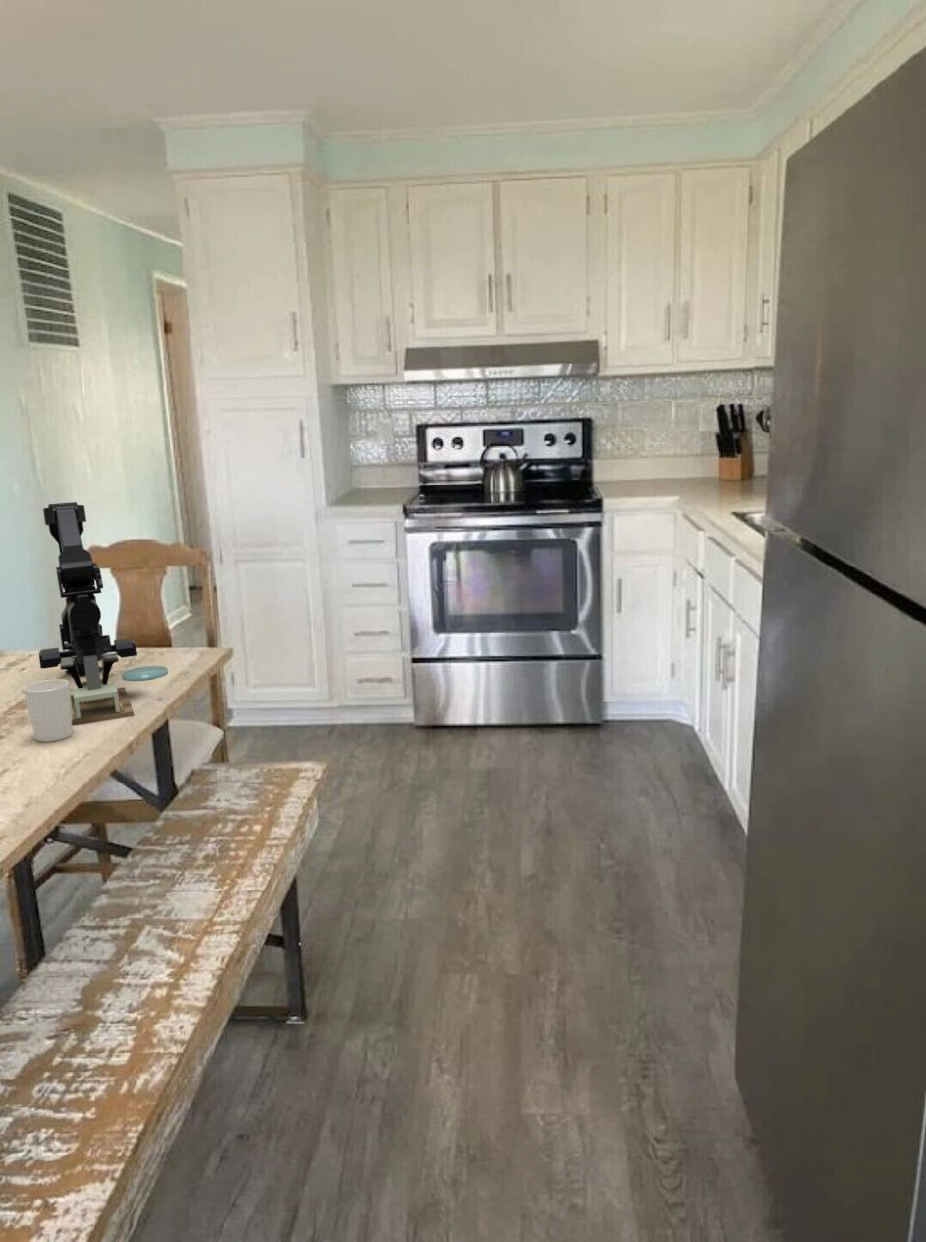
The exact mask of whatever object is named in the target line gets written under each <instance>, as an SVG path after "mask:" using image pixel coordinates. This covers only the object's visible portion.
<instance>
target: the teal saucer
mask: <svg viewBox="0 0 926 1242" xmlns="http://www.w3.org/2000/svg"><path fill="white" fill-rule="evenodd" d="M168 674H169V671H168V667H166V666H161V665H147V666H140V667H135V668H131V669H128V670H125V671H124V672H122V673H121V677H122V680H124V681H127V682H143V681H144V682H147V681H150V680H157V679H159V677H160V678H163V677H165V676H166V675H168ZM162 676H163V677H162ZM156 678H157V679H156Z"/></svg>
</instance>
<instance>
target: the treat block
mask: <svg viewBox="0 0 926 1242" xmlns="http://www.w3.org/2000/svg"><path fill="white" fill-rule="evenodd" d="M100 682H101V685H103V682H102V678H100ZM81 683H82V687H83V688H85V687H87V682H86V680H85V681H81ZM103 699H105V698H103ZM103 699H96V700H90V701H97V700H103ZM90 701H84V702H90Z"/></svg>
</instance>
